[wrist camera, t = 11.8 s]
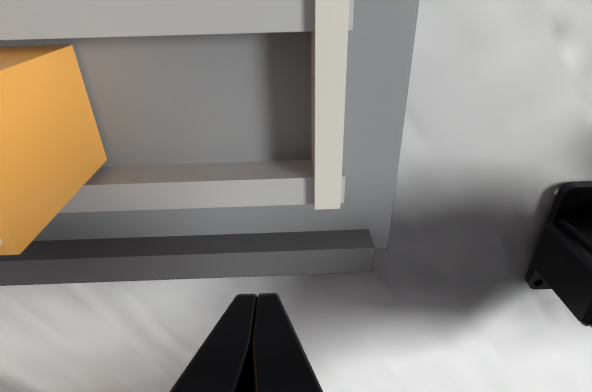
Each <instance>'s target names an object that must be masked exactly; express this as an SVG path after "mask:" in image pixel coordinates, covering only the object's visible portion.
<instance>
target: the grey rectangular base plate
mask: <svg viewBox="0 0 592 392" xmlns="http://www.w3.org/2000/svg"><path fill="white" fill-rule="evenodd" d="M374 254H375V246H374V243H373V240H372V237H371V234H370V231H369V229H360V230H332V231H304V232H275V233H247V234H218V235H190V236H161V237H133V238H105V239H76V240H48V241H32V242H31V243H30V244H29V245H28V246H27V247H26V248H25V249H24V250H23V252H22V253H21V254H20V255H0V286H6V285H34V284H61V283H88V282H115V281H143V280H170V279H197V278H224V277H252V276H279V275H306V274H333V273H361V272H373V263H374Z"/></svg>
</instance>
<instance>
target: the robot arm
mask: <svg viewBox="0 0 592 392" xmlns="http://www.w3.org/2000/svg"><path fill="white" fill-rule="evenodd" d="M571 193H573V194H572V195H570V194H571ZM569 195H570V196H569ZM525 281H526V283H527V284H528V286H529V287H530V288H532V289H553V291H554V292H555V293H556V294H557V295H558V297H559V298H560V299H561V300H562V301H563V303H564V304H565V305H566V306H567V307H568V309H569V310H570V311H571V312H572V313H573V315H574V316H575V317H576V318H577V319H578V320H579V322H580V323H581V324H583V325H584V326H591V327H592V182H590V183H570V184H567V185H565V186H563V187H562V188H561V189H560V190H559V192H558V194H557V197H556V199H555V202H554V204H553V207H552V210H551V212H550V215H549V218H548V220H547V223H546V225H545V228H544V231H543V233H542V236H541V239H540V241H539V244H538V246H537V249H536V252H535V254H534V257H533V259H532V262H531V265H530V267H529V270H528V273H527V275H526V278H525ZM170 392H323V391H322V388H321V386H320V384H319V382H318V380H317V378H316V375H315V373H314V371H313V369H312V367H311V365H310V363H309V360H308V358H307V356H306V354H305V352H304V350H303V347H302V345H301V343H300V341H299V339H298V337H297V335H296V332H295V330H294V328H293V326H292V324H291V322H290V319H289V317H288V315H287V313H286V311H285V309H284V307H283V304H282V302H281V300H280V298H279V296H278V295H277V294H276V293H262V294H259V295H258V296H257V295H256V294H239V295H237V296H236V297H235V298H234V300H233V301H232V302H231V304H230V305H229V307H228V308H227V310H226V311H225V313H224V314H223V315H222V317H221V318H220V320H219V321H218V323H217V324H216V326H215V327H214V328H213V330H212V331H211V333H210V334H209V336H208V337H207V339H206V340H205V341H204V343H203V344H202V346H201V347H200V349H199V350H198V351H197V353H196V354H195V356H194V357H193V359H192V360H191V362H190V363H189V364H188V366H187V367H186V369H185V370H184V372H183V373H182V375H181V376H180V377H179V379H178V380H177V382H176V383H175V385H174V386H173V387H172V389H171V390H170Z"/></svg>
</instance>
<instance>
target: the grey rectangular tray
mask: <svg viewBox="0 0 592 392" xmlns="http://www.w3.org/2000/svg"><path fill="white" fill-rule="evenodd" d="M418 7H419V0H0V47H11V46H46V45H72V46H73V49H74V52H75V56H76V59H77V62H78V65H79V69H80V72H81V75H82V79H83V82H84V85H85V88H86V92H87V95H88V98H89V102H90V105H91V108H92V112H93V115H94V118H95V121H96V125H97V128H98V131H99V135H100V138H101V141H102V144H103V148H104V151H105V154H106V158H107V160H106V161H105V162H104V164H103V165H102V166H101V167H100V168H99V169H98V170H97V171H96V172H95V173H94V174H93V175H92V177H91V178H90V179H89V180H88V181H87V182H86V183H85V184H84V185H83V186H82V187H81V189H80V190H79V191H78V192H77V193H76V194H75V195H74V196H73V197H72V198H71V199H70V200H69V202H68V203H67V204H66V205H65V206H64V207H63V208H62V209H61V210H60V211H59V212H58V214H57V215H56V216H55V217H54V218H53V219H52V220H51V221H50V222H49V223H48V224H47V225H46V227H45V228H44V229H43V230H42V231H41V232H40V233H39V234H38V235H37V236H36V237H35V239H34V240H33V241H48V240H76V239H105V238H133V237H161V236H190V235H218V234H247V233H275V232H304V231H332V230H360V229H369V231H370V234H371V237H372V240H373V243H374V246H375V249H388V241H389V234H390V226H391V218H392V210H393V202H394V194H395V187H396V179H397V171H398V163H399V155H400V147H401V140H402V132H403V124H404V116H405V108H406V100H407V93H408V85H409V77H410V69H411V61H412V54H413V46H414V38H415V30H416V22H417V14H418Z"/></svg>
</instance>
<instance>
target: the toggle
mask: <svg viewBox="0 0 592 392" xmlns="http://www.w3.org/2000/svg"><path fill="white" fill-rule="evenodd" d="M106 160H107V158H106V154H105V151H104V148H103V144H102V141H101V138H100V135H99V131H98V128H97V125H96V121H95V118H94V115H93V112H92V108H91V105H90V102H89V98H88V95H87V92H86V88H85V85H84V82H83V79H82V75H81V72H80V69H79V65H78V62H77V59H76V56H75V52H74V49H73V46H72V45H46V46H11V47H0V255H20V254H21V253H22V252H23V250H24V249H25V248H26V247H27V246H28V245H29V244H30V243H31V242H32V241H33V240H34V239H35V237H36V236H37V235H38V234H39V233H40V232H41V231H42V230H43V229H44V228H45V227H46V225H47V224H48V223H49V222H50V221H51V220H52V219H53V218H54V217H55V216H56V215H57V214H58V212H59V211H60V210H61V209H62V208H63V207H64V206H65V205H66V204H67V203H68V202H69V200H70V199H71V198H72V197H73V196H74V195H75V194H76V193H77V192H78V191H79V190H80V189H81V187H82V186H83V185H84V184H85V183H86V182H87V181H88V180H89V179H90V178H91V177H92V175H93V174H94V173H95V172H96V171H97V170H98V169H99V168H100V167H101V166H102V165H103V164H104V162H105V161H106Z"/></svg>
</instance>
